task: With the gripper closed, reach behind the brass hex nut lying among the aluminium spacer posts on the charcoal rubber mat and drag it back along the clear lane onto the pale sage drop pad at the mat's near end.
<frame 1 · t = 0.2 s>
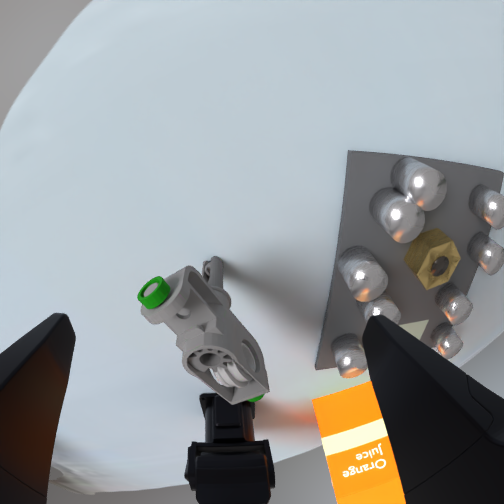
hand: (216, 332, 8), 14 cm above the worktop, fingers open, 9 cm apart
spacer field: (427, 282, 24), on the mat, point 2 cm above the worktop
mat: (414, 275, 26), on the worktop
nut: (425, 251, 24), point 1 cm above the worktop, touching mat
mechanical component: (213, 263, 24), on the worktop
orange juice: (344, 401, 37), on the worktop
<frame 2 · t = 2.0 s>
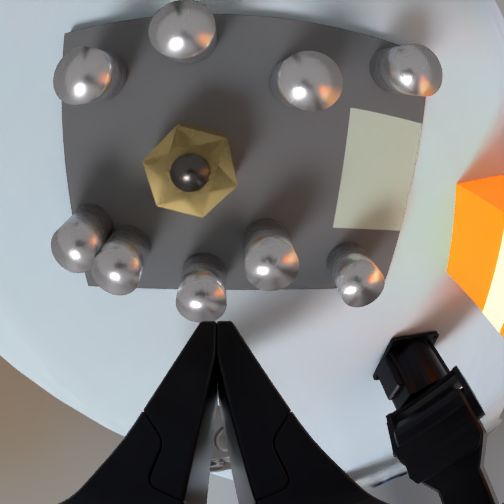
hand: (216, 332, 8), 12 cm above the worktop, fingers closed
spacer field: (233, 171, 16), on the mat, point 2 cm above the worktop
mat: (245, 160, 18), on the worktop
nut: (194, 162, 17), point 1 cm above the worktop, touching mat
mechanical component: (208, 368, 27), on the worktop
orange juice: (479, 221, 22), on the worktop
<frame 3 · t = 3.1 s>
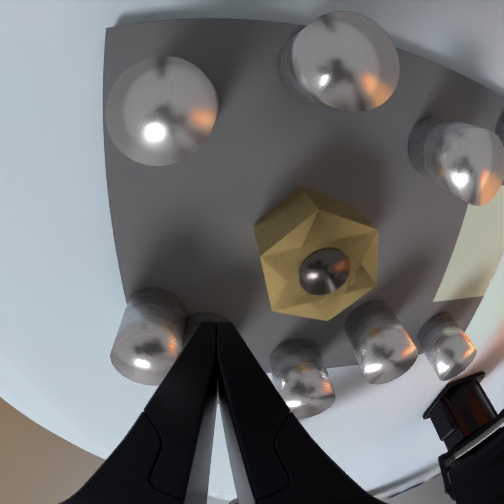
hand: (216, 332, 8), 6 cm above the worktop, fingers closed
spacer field: (368, 263, 12), on the mat, point 2 cm above the worktop
mat: (363, 236, 14), on the worktop
nut: (308, 241, 13), point 1 cm above the worktop, touching mat
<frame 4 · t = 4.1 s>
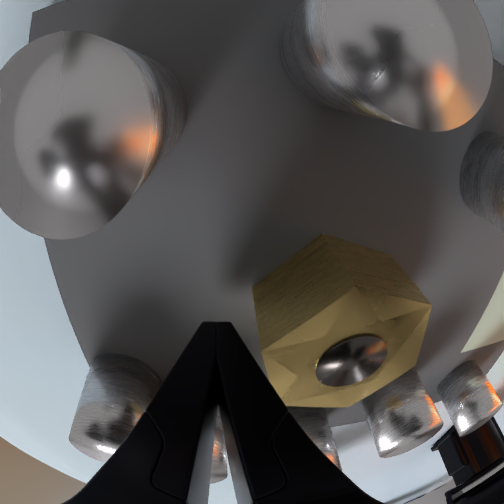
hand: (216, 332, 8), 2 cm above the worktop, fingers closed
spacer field: (400, 338, 8), on the mat, point 2 cm above the worktop
mat: (391, 290, 10), on the worktop
nut: (327, 303, 9), point 1 cm above the worktop, touching gripper
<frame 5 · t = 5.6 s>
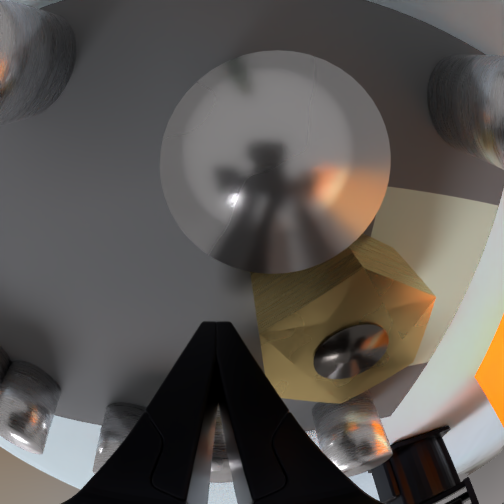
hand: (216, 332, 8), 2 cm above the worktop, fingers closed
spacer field: (126, 347, 7), on the mat, point 2 cm above the worktop
mat: (164, 292, 9), on the worktop
nut: (325, 293, 9), point 1 cm above the worktop, touching gripper, mat
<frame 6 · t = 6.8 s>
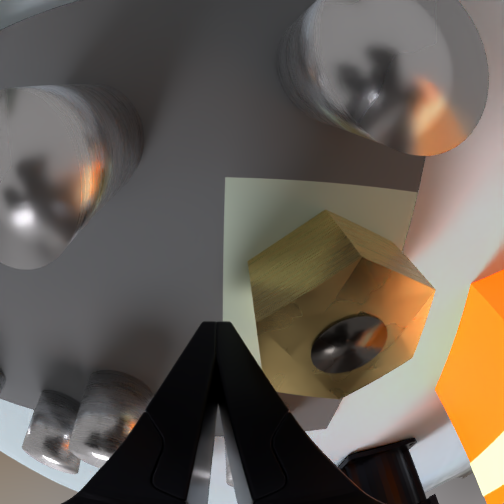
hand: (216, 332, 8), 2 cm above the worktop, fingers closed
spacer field: (14, 332, 7), on the mat, point 2 cm above the worktop
mat: (57, 288, 9), on the worktop
nut: (323, 287, 9), point 1 cm above the worktop, touching gripper
orange juice: (495, 321, 13), on the worktop
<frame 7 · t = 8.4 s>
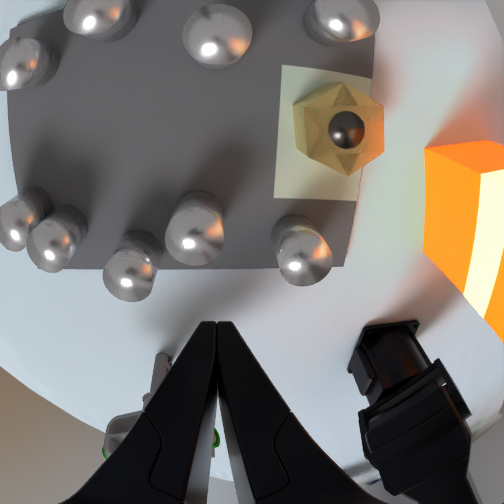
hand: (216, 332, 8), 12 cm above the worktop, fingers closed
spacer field: (150, 139, 14), on the mat, point 2 cm above the worktop
mat: (172, 130, 16), on the worktop
nut: (330, 124, 16), point 1 cm above the worktop, touching mat
mechanical component: (164, 356, 25), on the worktop
orange juice: (457, 194, 20), on the worktop
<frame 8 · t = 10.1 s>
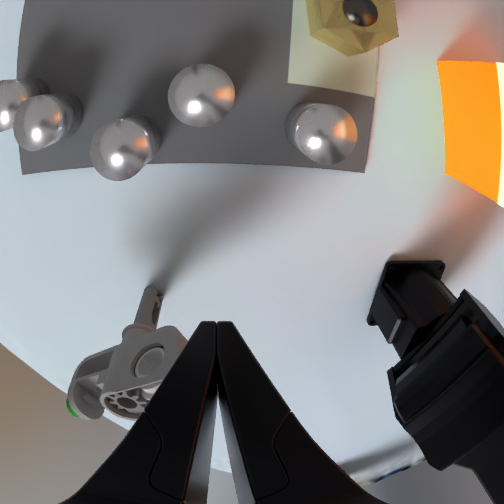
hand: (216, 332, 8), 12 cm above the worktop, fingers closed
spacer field: (164, 10, 11), on the mat, point 2 cm above the worktop
mat: (185, 17, 13), on the worktop
nut: (343, 19, 13), point 1 cm above the worktop, touching mat
mechanical component: (154, 293, 22), on the worktop
orange juice: (474, 116, 17), on the worktop
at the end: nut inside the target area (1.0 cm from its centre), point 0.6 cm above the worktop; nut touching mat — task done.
